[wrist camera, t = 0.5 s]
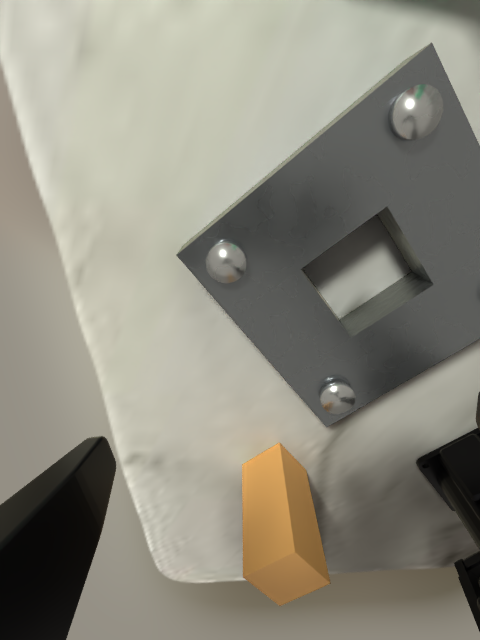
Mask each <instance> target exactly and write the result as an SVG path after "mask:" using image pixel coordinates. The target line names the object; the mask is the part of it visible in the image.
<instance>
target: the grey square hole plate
mask: <svg viewBox="0 0 480 640" xmlns="http://www.w3.org/2000/svg"><path fill="white" fill-rule="evenodd" d="M376 214H377V215H378V216H379V218H380V219H381V221H382V223H383V224H384V226H385V228H386V229H387V231H388V233H389V234H390V236H391V237H392V239H393V241H394V242H395V244H396V246H397V247H398V249H399V251H400V252H401V254H402V255H403V257H404V259H405V260H406V262H407V264H408V265H409V267H410V269H411V270H412V272H411V273H409V274H408V275H406V276H405V277H403V278H402V279H400V280H399V281H397V282H396V283H394V284H393V285H391V286H390V287H388V288H387V289H385V290H384V291H382V292H381V293H379V294H378V295H376V296H375V297H373V298H372V299H370V300H369V301H367V302H366V303H364V304H363V305H361V306H360V307H358V308H357V309H355V310H354V311H352V312H351V313H349V314H348V315H346V316H345V317H343V318H341V319H340V320H339V318H338V317H337V316H336V314H335V313H334V312H333V310H332V309H331V308H330V306H329V305H328V303H327V302H326V301H325V299H324V298H323V297H322V295H321V294H320V293H319V291H318V290H317V289H316V287H315V286H314V284H313V283H312V282H311V280H310V279H309V278H308V276H307V275H306V274H305V272H304V271H303V270H302V268H303V267H304V266H306V265H307V264H309V263H310V262H311V261H313V260H314V259H315V258H317V257H318V256H319V255H321V254H322V253H324V252H325V251H326V250H328V249H329V248H330V247H332V246H333V245H335V244H336V243H337V242H339V241H340V240H341V239H343V238H344V237H346V236H347V235H348V234H350V233H351V232H352V231H354V230H355V229H356V228H358V227H359V226H361V225H362V224H363V223H365V222H366V221H367V220H369V219H370V218H372V217H373V216H374V215H376ZM177 256H178V257H179V259H180V260H181V261H182V262H183V263H184V264H185V265H186V267H187V268H188V269H189V270H190V271H191V272H192V274H193V275H194V276H195V277H196V278H197V279H198V280H199V282H200V283H201V284H202V285H203V286H204V287H205V288H206V290H207V291H208V292H209V293H210V294H211V295H212V296H213V298H214V299H215V300H216V301H217V302H218V303H219V304H220V306H221V307H222V308H223V309H224V310H225V311H226V312H227V314H228V315H229V316H230V317H231V318H232V319H233V321H234V322H235V323H236V324H237V325H238V326H239V327H240V329H241V330H242V331H243V332H244V333H245V334H246V335H247V337H248V338H249V339H250V340H251V341H252V342H253V343H254V345H255V346H256V347H257V348H258V349H259V350H260V351H261V353H262V354H263V355H264V356H265V357H266V358H267V359H268V361H269V362H270V363H271V364H272V365H273V366H274V368H275V369H276V370H277V371H278V372H279V373H280V374H281V376H282V377H283V378H284V379H285V380H286V381H287V382H288V384H289V385H290V386H291V387H292V388H293V389H294V390H295V392H296V393H297V394H298V395H299V396H300V397H301V398H302V400H303V401H304V402H305V403H306V404H307V405H308V406H309V408H310V409H311V410H312V411H313V412H314V413H315V415H316V416H317V417H318V418H319V419H320V420H321V421H322V423H323V424H324V425H325V426H326V427H328V426H330V425H332V424H333V423H335V422H337V421H338V420H340V419H342V418H344V417H345V416H347V415H349V414H351V413H352V412H354V411H356V410H357V409H359V408H361V407H363V406H364V405H366V404H368V403H370V402H371V401H373V400H375V399H376V398H378V397H380V396H382V395H383V394H385V393H387V392H389V391H390V390H392V389H394V388H395V387H397V386H399V385H401V384H402V383H404V382H406V381H408V380H409V379H411V378H413V377H414V376H416V375H418V374H420V373H421V372H423V371H425V370H427V369H428V368H430V367H432V366H433V365H435V364H437V363H439V362H440V361H442V360H444V359H446V358H447V357H449V356H451V355H452V354H454V353H456V352H458V351H459V350H461V349H463V348H465V347H466V346H468V345H470V344H471V343H473V342H475V341H477V340H478V339H480V146H479V143H478V141H477V139H476V137H475V135H474V133H473V130H472V128H471V126H470V124H469V122H468V120H467V117H466V115H465V113H464V111H463V109H462V107H461V104H460V102H459V100H458V98H457V96H456V94H455V91H454V89H453V87H452V85H451V83H450V81H449V79H448V76H447V74H446V72H445V70H444V68H443V66H442V63H441V61H440V59H439V57H438V55H437V53H436V50H435V48H434V46H433V44H432V43H430V44H429V45H427V46H426V47H424V48H423V49H421V50H420V51H418V52H417V53H415V54H414V55H412V56H411V57H409V58H407V59H406V60H405V61H403V62H402V63H401V64H400V65H399V66H397V67H396V68H395V69H394V70H393V71H391V72H390V73H389V74H388V75H387V76H385V77H384V78H383V79H382V80H381V81H379V82H378V83H377V84H376V85H375V86H373V87H372V88H371V89H370V90H369V91H367V92H366V93H365V94H364V95H363V96H361V97H360V98H359V99H358V100H357V101H355V102H354V103H353V104H352V105H351V106H350V107H348V108H347V109H346V110H345V111H344V112H342V113H341V114H340V115H339V116H338V117H336V118H335V119H334V120H333V121H332V122H330V123H329V124H328V125H327V126H326V127H324V128H323V129H322V130H321V131H320V132H318V133H317V134H316V135H315V136H314V137H312V138H311V139H310V140H309V141H308V142H306V143H305V144H304V145H303V146H302V147H300V148H299V149H298V150H297V151H296V152H294V153H293V154H292V155H291V156H290V157H288V158H287V159H286V160H285V161H284V162H282V163H281V164H280V165H279V166H278V167H277V168H275V169H274V170H273V171H272V172H271V173H269V174H268V175H267V176H266V177H265V178H263V179H262V180H261V181H260V182H259V183H257V184H256V185H255V186H254V187H253V188H251V189H250V190H249V191H248V192H247V193H245V194H244V195H243V196H242V197H241V198H239V199H238V200H237V201H236V202H235V203H233V204H232V205H231V206H230V207H229V208H227V209H226V210H225V211H224V212H223V213H221V214H220V215H219V216H218V217H217V218H215V219H214V220H213V221H212V222H211V223H209V224H208V225H207V226H206V227H205V228H204V229H202V230H201V231H200V232H199V233H198V234H196V235H195V236H194V237H193V238H192V239H190V240H189V241H188V242H187V243H186V244H184V245H183V247H182V248H181V250H180V251H179V252H178V254H177Z"/></svg>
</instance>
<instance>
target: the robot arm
mask: <svg viewBox="0 0 480 640" xmlns="http://www.w3.org/2000/svg"><path fill="white" fill-rule="evenodd" d="M476 422H477V426H478V428H477V429H475V430H473V431H471V432H469V433H467V434H465V435H464V436H462V437H460V438H458V439H456V440H454V441H452V442H450V443H448V444H446V445H444V446H442V447H440V448H438V449H436V450H434V451H432V452H430V453H428V454H426V455H424V456H423V457H421V458H419V459H418V460H417V462H416V464H417V466H418V467H419V469H420V470H421V472H422V473H423V474H424V475H425V477H426V478H427V479H428V480H429V482H430V483H431V484H432V486H433V487H434V488H435V489H436V491H437V492H438V493H439V494H440V496H441V497H442V498H443V500H444V501H445V502H446V503H447V505H448V506H449V507H450V508H451V510H453V511H456V513H457V514H458V516H459V518H460V519H461V521H462V522H463V524H464V526H465V527H466V529H467V531H468V532H469V534H470V535H471V537H472V539H473V540H474V542H475V543H476V545H477V547H478V548H479V550H480V392H479V395H478V402H477V411H476ZM115 472H116V461H115V458H114V456H113V453H112V450H111V448H110V446H109V443H108V441H107V439H106V438H105V437H103V436H99V437H91V438H87V439H86V440H84V441H83V442H82V443H81V444H79V445H78V446H77V447H75V448H74V449H73V450H71V451H70V452H69V453H68V454H66V455H65V456H64V457H62V458H61V459H60V460H58V461H57V462H56V463H55V464H53V465H52V466H51V467H49V468H48V469H47V470H45V471H44V472H43V473H42V474H40V475H39V476H38V477H36V478H35V479H34V480H32V481H31V482H30V483H28V484H27V485H26V486H25V487H23V488H22V489H21V490H19V491H18V492H17V493H15V494H14V495H13V496H12V497H10V498H9V499H8V500H6V501H5V502H4V503H2V504H1V505H0V640H66V638H67V635H68V632H69V629H70V626H71V623H72V620H73V617H74V614H75V611H76V608H77V605H78V602H79V599H80V596H81V593H82V590H83V587H84V584H85V581H86V578H87V575H88V572H89V569H90V566H91V563H92V560H93V557H94V554H95V551H96V548H97V545H98V542H99V539H100V535H101V532H102V528H103V524H104V520H105V516H106V511H107V507H108V503H109V498H110V494H111V489H112V485H113V481H114V476H115ZM454 564H455V567H456V569H457V572H458V574H459V580H460V583H461V585H462V588H463V591H464V593H465V596H466V598H467V601H468V603H469V606H470V608H471V611H472V613H473V616H474V619H475V621H476V624H477V626H478V629H479V631H480V551H478V552H477V553H475V554H473V555H471V556H469V557H468V558H466V559H464V560H463V559H460V560H458V561H456V562H454Z"/></svg>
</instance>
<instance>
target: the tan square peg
mask: <svg viewBox="0 0 480 640" xmlns="http://www.w3.org/2000/svg"><path fill="white" fill-rule="evenodd" d="M242 491H243V577H244V578H245V579H246V580H247V581H249V582H250V583H251V584H252V585H254V586H255V587H256V588H258V589H259V590H260V591H261V592H263V593H264V594H265V595H266V596H268V597H269V598H270V599H272V600H273V601H274V602H275V603H277V604H278V605H279V606H281V605H283V604H286V603H288V602H290V601H292V600H295V599H297V598H299V597H301V596H304V595H306V594H308V593H310V592H312V591H315V590H317V589H319V588H322V587H324V586H326V585H328V584H330V579H329V574H328V569H327V565H326V560H325V555H324V551H323V546H322V542H321V537H320V532H319V528H318V523H317V519H316V514H315V509H314V505H313V500H312V495H311V491H310V486H309V482H308V477H307V472H306V470H305V468H304V467H303V466H302V465H301V464H300V463H299V462H298V461H297V460H296V459H295V458H294V457H293V456H292V455H291V454H290V453H289V452H288V451H287V450H286V449H285V448H284V447H283V446H282V445H281V444H280V443H278V444H276V445H274V446H273V447H271V448H269V449H268V450H266V451H264V452H263V453H261V454H259V455H258V456H256V457H254V458H252V459H251V460H249V461H247V462H246V463H244V464H242Z"/></svg>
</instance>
